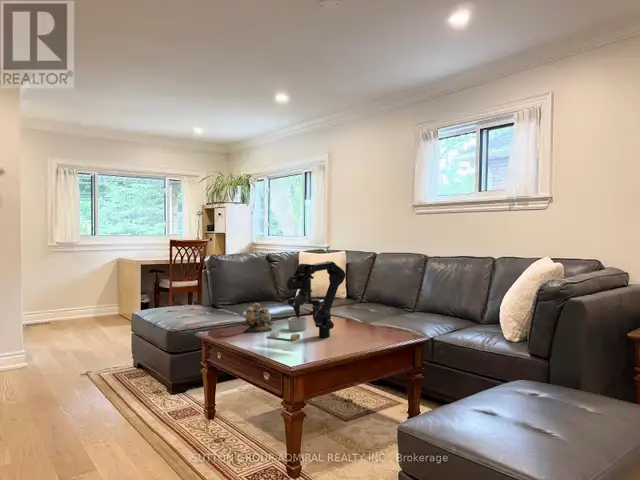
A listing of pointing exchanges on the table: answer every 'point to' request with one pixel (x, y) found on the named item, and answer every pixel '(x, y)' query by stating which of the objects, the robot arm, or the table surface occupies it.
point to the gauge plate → (280, 338)
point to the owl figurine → (257, 319)
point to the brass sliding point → (295, 337)
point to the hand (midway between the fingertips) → (305, 318)
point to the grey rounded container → (297, 323)
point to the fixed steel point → (274, 334)
